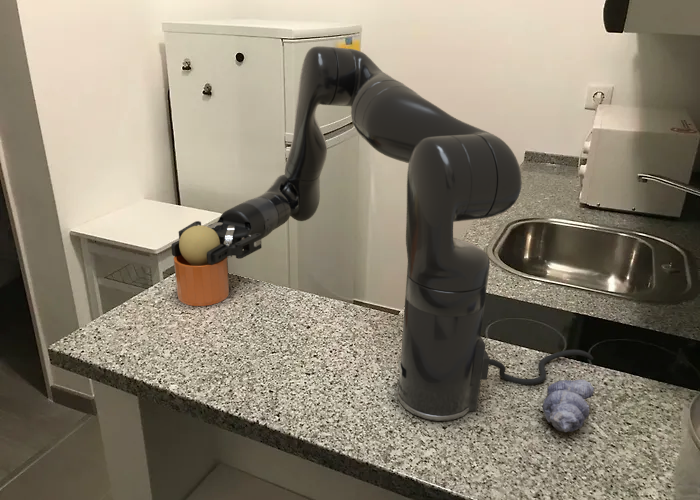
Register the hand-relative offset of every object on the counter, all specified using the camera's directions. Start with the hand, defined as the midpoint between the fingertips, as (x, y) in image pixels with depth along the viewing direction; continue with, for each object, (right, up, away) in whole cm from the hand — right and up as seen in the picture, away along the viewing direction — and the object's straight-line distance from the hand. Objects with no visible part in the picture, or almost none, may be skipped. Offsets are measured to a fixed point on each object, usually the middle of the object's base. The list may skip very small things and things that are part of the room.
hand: (191, 254), depth 93 cm
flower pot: (+1, -7, +5) cm, 8 cm away
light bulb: (+1, -5, +4) cm, 7 cm away
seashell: (+51, -20, -22) cm, 59 cm away
